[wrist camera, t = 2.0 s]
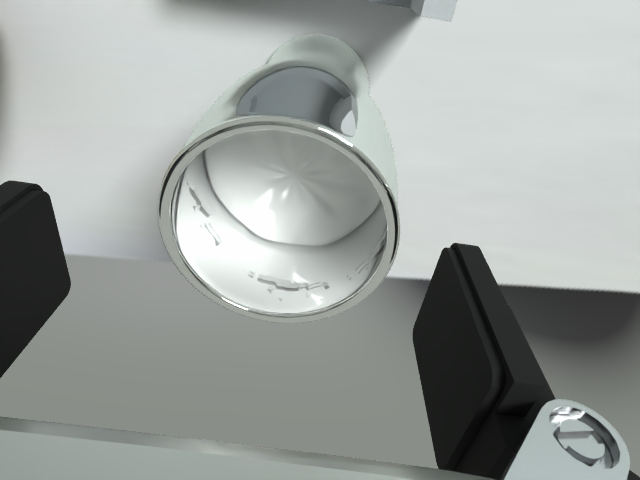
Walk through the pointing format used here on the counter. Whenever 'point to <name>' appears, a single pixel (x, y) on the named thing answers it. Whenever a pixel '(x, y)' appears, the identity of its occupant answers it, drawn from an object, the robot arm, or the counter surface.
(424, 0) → the guarded tray
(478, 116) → the counter surface
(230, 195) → the beer glass
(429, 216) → the counter surface
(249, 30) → the counter surface
